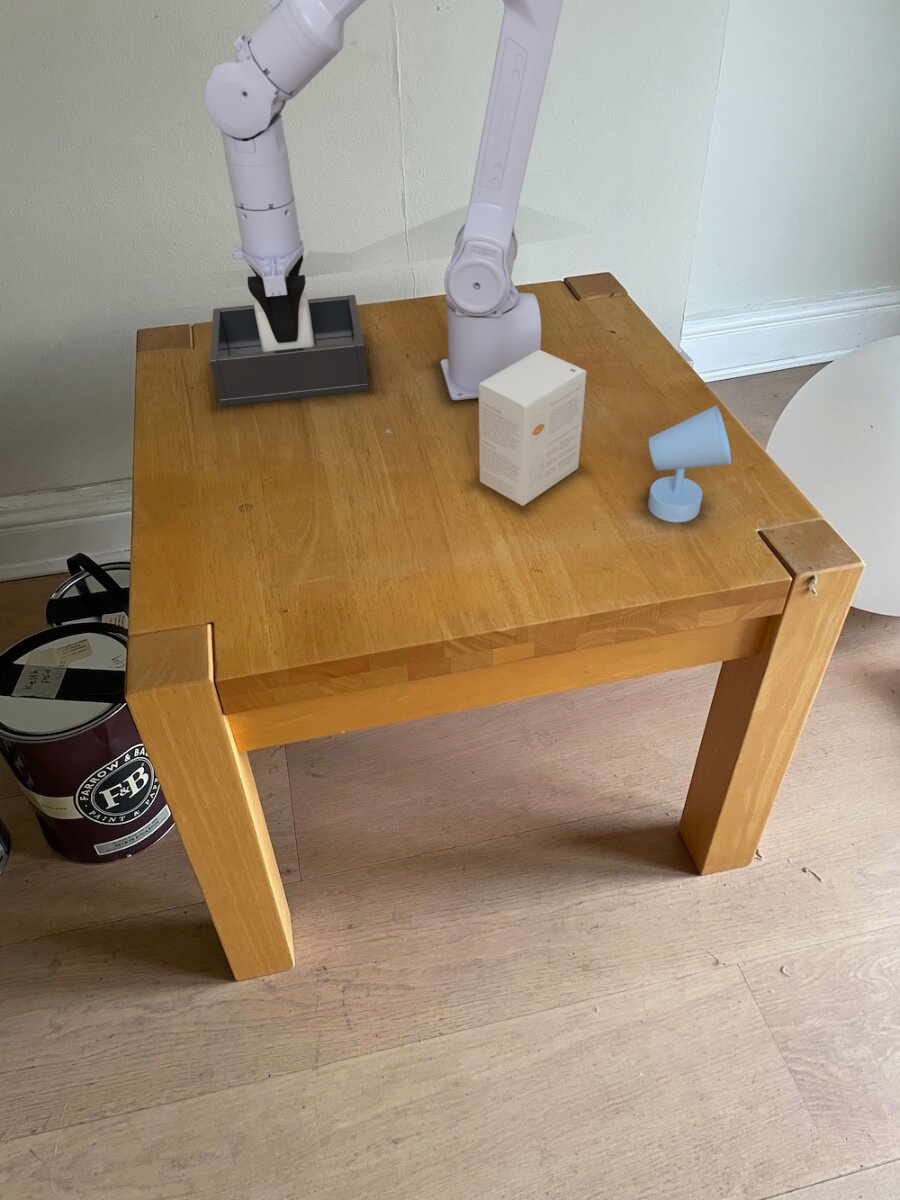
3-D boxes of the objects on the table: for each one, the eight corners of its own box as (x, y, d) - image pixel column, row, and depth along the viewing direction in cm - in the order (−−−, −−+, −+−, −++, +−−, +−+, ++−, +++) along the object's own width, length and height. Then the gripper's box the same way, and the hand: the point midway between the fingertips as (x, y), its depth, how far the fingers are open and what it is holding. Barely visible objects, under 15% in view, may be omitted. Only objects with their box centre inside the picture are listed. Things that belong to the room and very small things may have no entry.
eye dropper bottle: (305, 378, 95) (288, 268, 86) (259, 370, 96) (237, 261, 88) (323, 358, 98) (308, 250, 89) (278, 351, 99) (258, 244, 91)
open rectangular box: (359, 338, 102) (354, 294, 99) (369, 390, 94) (364, 344, 90) (223, 352, 101) (213, 308, 97) (220, 406, 93) (209, 360, 89)
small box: (534, 446, 86) (539, 346, 79) (579, 469, 83) (589, 368, 76) (477, 482, 82) (476, 381, 75) (522, 508, 79) (525, 406, 72)
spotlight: (718, 493, 80) (640, 486, 81) (740, 396, 73) (655, 389, 74) (719, 528, 76) (638, 520, 77) (743, 429, 69) (653, 422, 70)
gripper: (223, 176, 90) (248, 304, 99) (220, 233, 79) (248, 369, 89) (293, 170, 90) (312, 298, 100) (299, 226, 80) (319, 362, 89)
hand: (286, 331), depth 94 cm, fingers closed on eye dropper bottle, 3 cm apart
